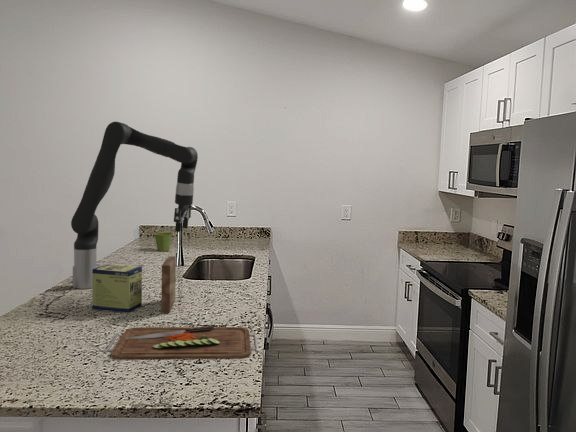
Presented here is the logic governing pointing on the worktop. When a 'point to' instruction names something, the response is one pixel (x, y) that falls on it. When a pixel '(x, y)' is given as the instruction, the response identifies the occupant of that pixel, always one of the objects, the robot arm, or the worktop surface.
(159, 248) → the plant pot
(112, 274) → the protein box
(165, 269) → the board
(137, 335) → the chopping board
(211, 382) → the worktop surface
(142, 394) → the worktop surface
